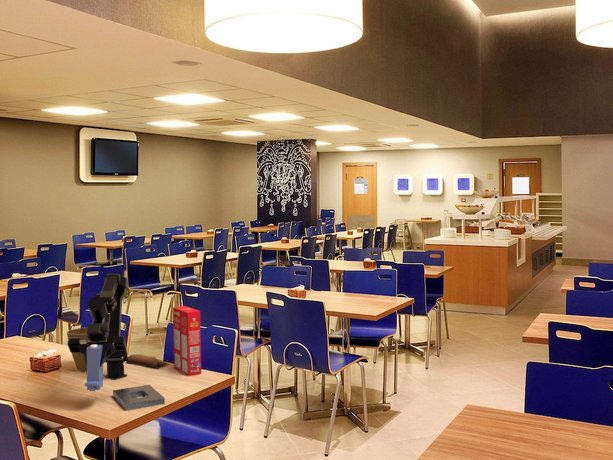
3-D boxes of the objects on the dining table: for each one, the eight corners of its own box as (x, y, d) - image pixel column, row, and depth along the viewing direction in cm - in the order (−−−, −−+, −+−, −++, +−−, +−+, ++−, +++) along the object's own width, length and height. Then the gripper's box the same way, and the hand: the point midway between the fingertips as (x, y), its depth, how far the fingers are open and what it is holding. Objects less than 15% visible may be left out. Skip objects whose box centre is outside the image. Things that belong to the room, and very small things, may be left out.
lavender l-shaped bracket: (92, 383, 220) (92, 340, 219) (104, 383, 221) (104, 340, 220) (85, 392, 210) (84, 348, 209) (97, 392, 211) (97, 347, 210)
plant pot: (114, 367, 263) (113, 328, 262) (84, 376, 250) (83, 335, 249) (90, 362, 271) (89, 325, 270) (60, 370, 258) (58, 331, 257)
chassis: (113, 395, 225) (112, 390, 225) (149, 390, 231) (149, 384, 231) (125, 410, 209) (125, 404, 209) (164, 403, 216) (164, 398, 215)
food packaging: (201, 374, 251) (200, 311, 250) (188, 376, 249) (187, 312, 247) (186, 366, 264) (184, 305, 262) (174, 368, 261) (172, 307, 259)
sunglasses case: (171, 364, 266) (165, 352, 263) (161, 376, 261) (155, 364, 258) (140, 359, 276) (134, 347, 273) (130, 370, 271) (123, 359, 268)
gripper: (67, 314, 217) (59, 354, 207) (124, 312, 219) (118, 352, 208) (74, 332, 225) (67, 371, 215) (128, 330, 227) (123, 369, 217)
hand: (93, 366), depth 214 cm, fingers closed on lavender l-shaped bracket, 4 cm apart
